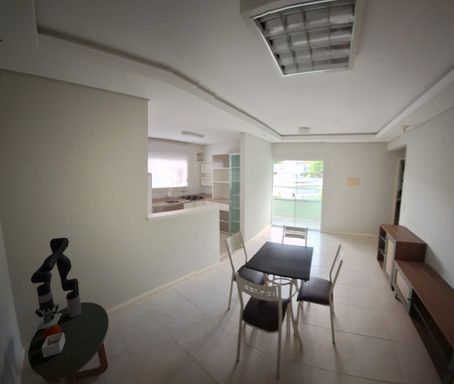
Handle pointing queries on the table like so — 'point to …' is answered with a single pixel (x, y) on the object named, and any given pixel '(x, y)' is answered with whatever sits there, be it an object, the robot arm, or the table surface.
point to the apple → (52, 331)
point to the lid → (49, 321)
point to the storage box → (53, 344)
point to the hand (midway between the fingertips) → (49, 320)
